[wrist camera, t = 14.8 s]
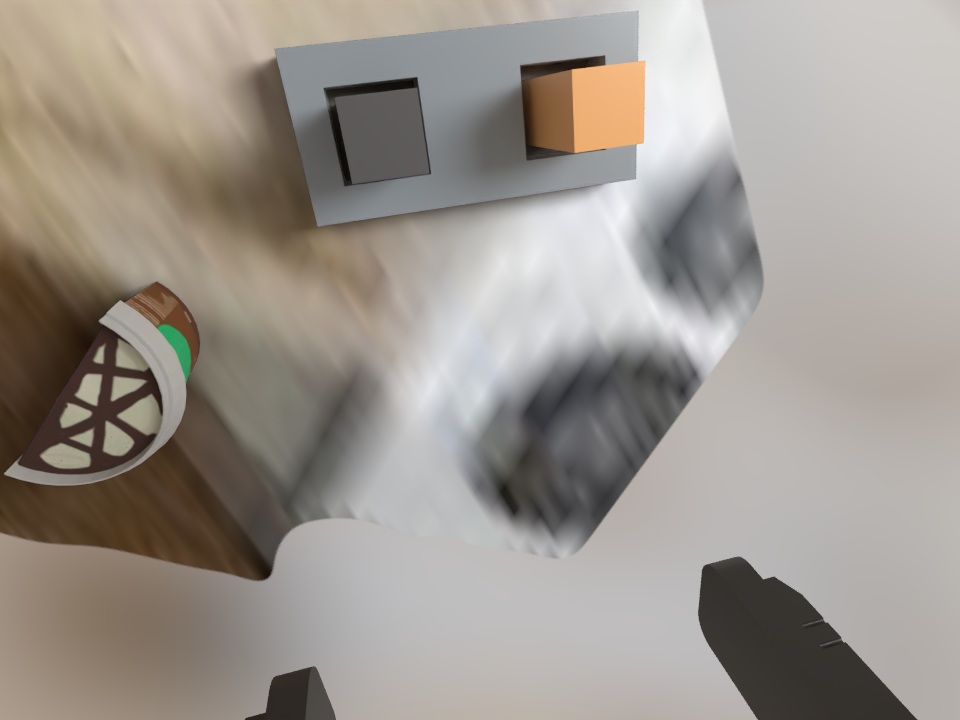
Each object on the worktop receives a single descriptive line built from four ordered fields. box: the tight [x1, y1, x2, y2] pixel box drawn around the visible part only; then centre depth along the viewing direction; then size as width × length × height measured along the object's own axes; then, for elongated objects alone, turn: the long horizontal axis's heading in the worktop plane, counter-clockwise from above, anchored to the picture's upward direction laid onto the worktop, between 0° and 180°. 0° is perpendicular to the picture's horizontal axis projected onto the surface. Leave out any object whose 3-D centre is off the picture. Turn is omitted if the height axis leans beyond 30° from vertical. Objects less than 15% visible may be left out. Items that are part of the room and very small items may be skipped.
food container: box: [4, 282, 200, 485], centre depth 34 cm, size 12×6×10 cm, turn 141°
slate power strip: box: [274, 11, 639, 226], centre depth 32 cm, size 22×10×10 cm, turn 97°
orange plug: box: [521, 61, 645, 153], centre depth 33 cm, size 4×4×10 cm
